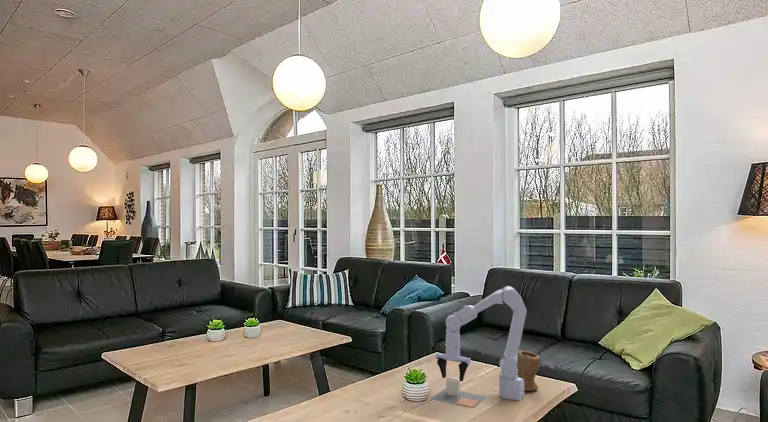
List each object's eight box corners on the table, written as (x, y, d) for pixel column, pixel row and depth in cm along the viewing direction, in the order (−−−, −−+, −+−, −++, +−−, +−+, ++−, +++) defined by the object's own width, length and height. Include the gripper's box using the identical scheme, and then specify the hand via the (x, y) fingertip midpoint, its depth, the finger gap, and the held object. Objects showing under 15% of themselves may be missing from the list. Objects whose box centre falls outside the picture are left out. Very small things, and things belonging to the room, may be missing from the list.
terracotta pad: (479, 401, 196) (479, 401, 196) (472, 407, 190) (472, 406, 190) (462, 398, 200) (462, 397, 200) (455, 404, 194) (455, 403, 194)
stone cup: (546, 390, 212) (546, 354, 212) (521, 394, 208) (521, 357, 208) (524, 379, 226) (524, 345, 226) (501, 382, 222) (501, 348, 222)
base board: (486, 399, 202) (486, 396, 202) (473, 411, 190) (473, 408, 190) (445, 391, 211) (445, 388, 211) (430, 401, 199) (430, 398, 199)
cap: (461, 392, 207) (461, 378, 207) (456, 396, 202) (456, 381, 202) (449, 390, 209) (449, 376, 209) (444, 393, 205) (444, 379, 205)
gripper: (432, 345, 206) (432, 378, 206) (465, 350, 199) (465, 385, 199) (439, 341, 212) (439, 373, 212) (472, 346, 205) (472, 380, 205)
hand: (452, 379), depth 206 cm, fingers open, 7 cm apart
